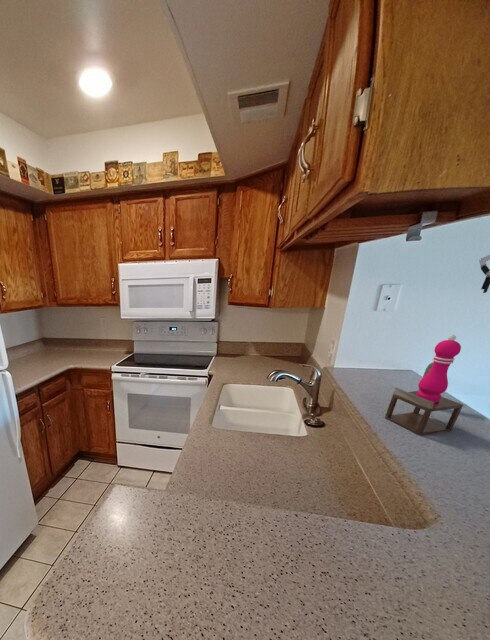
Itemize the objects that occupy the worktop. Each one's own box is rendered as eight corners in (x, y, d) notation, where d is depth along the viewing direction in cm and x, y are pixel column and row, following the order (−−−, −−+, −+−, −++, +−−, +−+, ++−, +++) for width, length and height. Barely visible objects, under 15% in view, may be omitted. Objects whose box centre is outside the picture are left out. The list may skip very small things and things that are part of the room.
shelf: (414, 414, 116) (426, 384, 110) (451, 430, 104) (466, 398, 99) (384, 418, 113) (395, 387, 108) (418, 435, 102) (432, 402, 96)
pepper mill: (439, 405, 100) (468, 338, 90) (411, 399, 104) (436, 335, 95) (442, 398, 105) (470, 334, 95) (415, 393, 109) (439, 331, 99)
